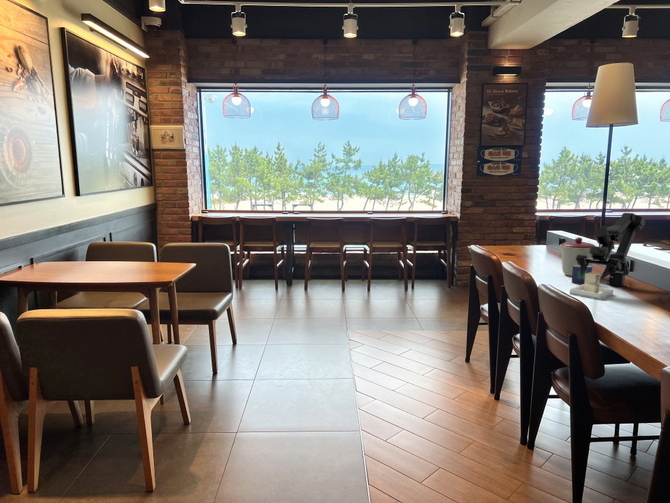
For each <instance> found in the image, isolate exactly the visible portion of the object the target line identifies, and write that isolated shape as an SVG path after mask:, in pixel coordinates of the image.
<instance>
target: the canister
mask: <svg viewBox="0 0 670 503" xmlns="http://www.w3.org/2000/svg"><path fill="white" fill-rule="evenodd" d="M559 246H560V250H561V251H560V252H561V253H560V254H561V266H562V272H563V274H564V275H566V276H568V277H572V270H573V266H576V265H578V266H579V264H578V262H577V260H576V257H577V255H586V256H587V258H589V259H593V257H591V253H589V251H590V247H591V246H595V247H598V246H596V245H595V244H593V243H590V242H585V241H583V238H582V237H575V238H574V241H565V242H563V243H561V244H559ZM587 266H592V267H593V263H589V264H588V265H587Z"/></svg>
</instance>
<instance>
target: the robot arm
mask: <svg viewBox="0 0 670 503" xmlns="http://www.w3.org/2000/svg"><path fill="white" fill-rule="evenodd" d="M645 225H646V219H645V218H644V217H643V216H640V215H637V214H635V213H633V212H623V213H622V215H621V216H620V217H619V219H618V220H617V221H615V223H614V224H613V225H611V226H604V225H603V226H600V227H599V228H597V229H595V230H594V231H593V235H594V238H595V240H596V242H597V244H599V245H598V246H597V247H595V246H596V245H595V246H591V247H590V251H589V253H591V257H593V259H589V258H587V256H586V255H577V257H576V260H577V262H578V264H579V265H580V266H581V273H580V274H581V276H582V275H583V274H584V272H585V271H586V269H587V265H588V264H589V263H593V264H596V265H600V266H605V268H604V270H603V272H602V275H600V278H601V280H603V279H604V278H606V277H609V278H608V283H606V285H607V286H611V287H615V288H623V287H627V284H625V280H626V276H629V274H630V269H629V268H630V267H629V265H628V260H627V256H628V253H629V251H630V249H631V247H632V243H633V241H634V238H635V237H636V235H637V234H638V233H639V232H641V231H642V229H643V228H644V227H645ZM623 231H624V233H623ZM622 233H623V234H622ZM619 241H620V242H619ZM614 242H619V244H618V247H617V249H616V250H615V243H614ZM613 250H615V253H612V251H613ZM593 264H592V265H593Z"/></svg>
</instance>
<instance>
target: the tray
mask: <svg viewBox="0 0 670 503" xmlns="http://www.w3.org/2000/svg"><path fill="white" fill-rule="evenodd" d="M569 294H570V295H573V296H580V297H583V298H590V299H594V300H599V301H600V300H602V299H605V298H608V297H610V296H613V295H614V289H613V288H608V287H607V288H606V287H602V286H599V293H593V292H587V291H584V284H579V285H578V286H574V287H571V288H569Z"/></svg>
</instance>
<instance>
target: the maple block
mask: <svg viewBox="0 0 670 503" xmlns="http://www.w3.org/2000/svg"><path fill="white" fill-rule="evenodd" d="M600 278H601V273H596V272H592V273H591V272H589V273H586V274H585V283H584V291H587V292H593V293H599V287H600V282H601V281H600Z"/></svg>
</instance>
